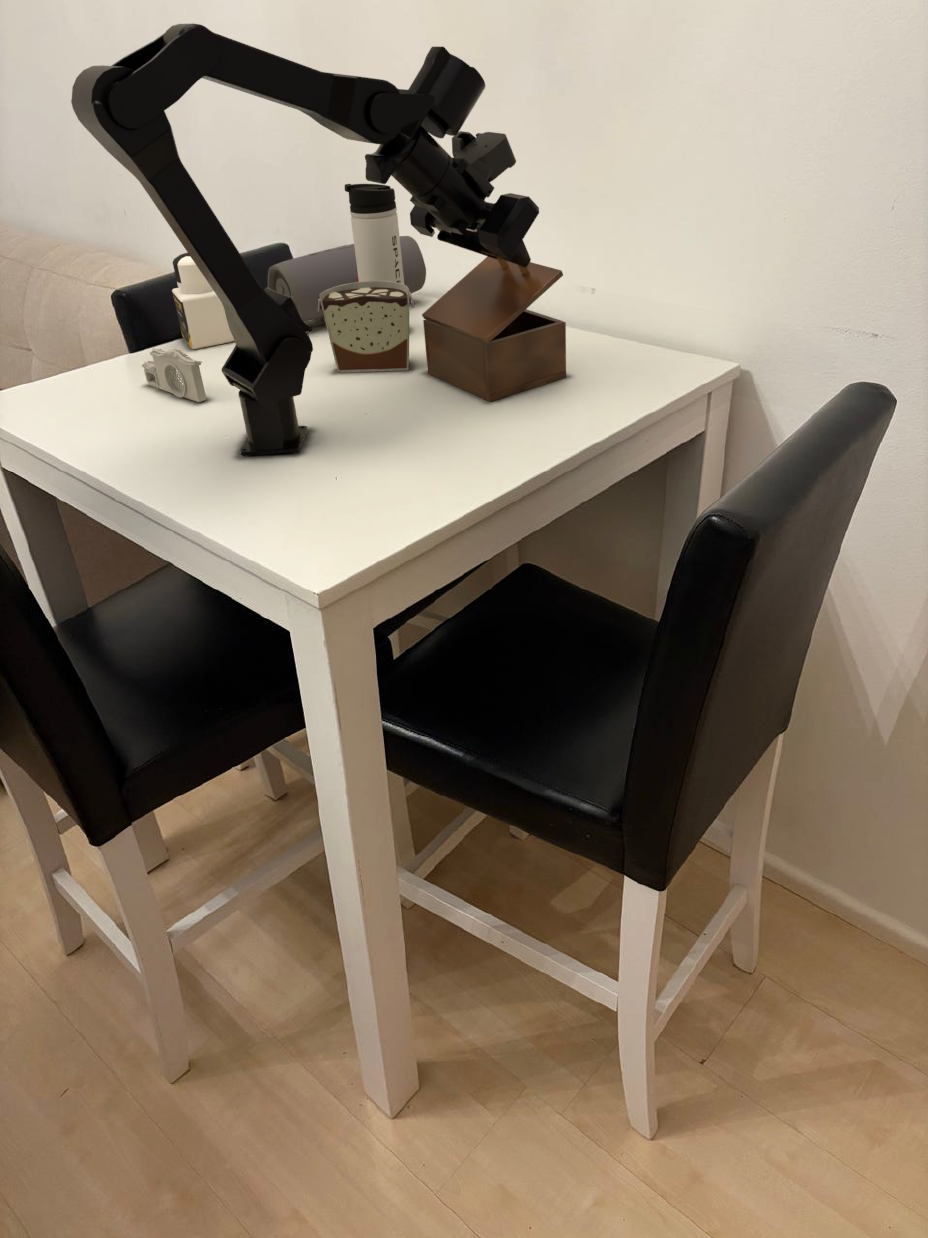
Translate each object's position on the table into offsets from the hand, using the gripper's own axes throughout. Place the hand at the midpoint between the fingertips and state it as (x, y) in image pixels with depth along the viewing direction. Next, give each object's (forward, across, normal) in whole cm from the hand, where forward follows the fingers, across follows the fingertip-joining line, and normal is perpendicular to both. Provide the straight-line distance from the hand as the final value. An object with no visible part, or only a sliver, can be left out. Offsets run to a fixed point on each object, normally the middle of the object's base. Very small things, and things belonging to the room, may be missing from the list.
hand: (514, 259), depth 115 cm
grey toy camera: (-16, +24, +35) cm, 46 cm away
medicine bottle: (-8, +42, +27) cm, 51 cm away
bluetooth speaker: (+7, +37, +12) cm, 40 cm away
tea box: (+7, 0, +12) cm, 14 cm away
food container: (+1, +15, +18) cm, 23 cm away
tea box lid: (0, 0, +5) cm, 5 cm away
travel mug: (+6, +26, +13) cm, 29 cm away
